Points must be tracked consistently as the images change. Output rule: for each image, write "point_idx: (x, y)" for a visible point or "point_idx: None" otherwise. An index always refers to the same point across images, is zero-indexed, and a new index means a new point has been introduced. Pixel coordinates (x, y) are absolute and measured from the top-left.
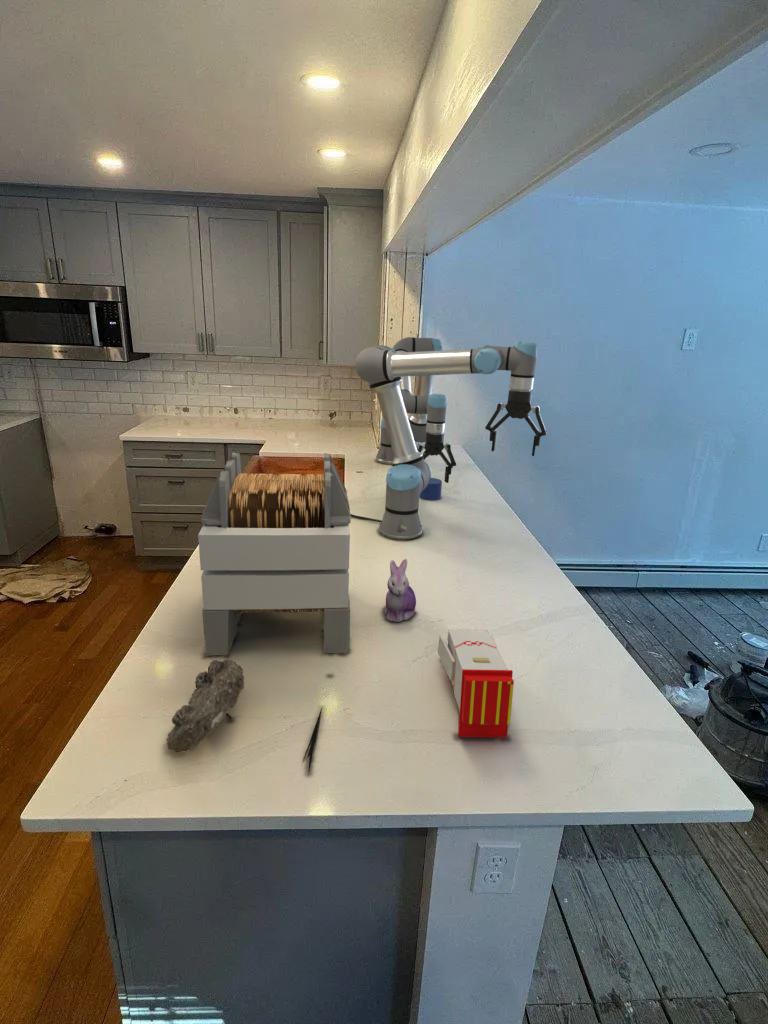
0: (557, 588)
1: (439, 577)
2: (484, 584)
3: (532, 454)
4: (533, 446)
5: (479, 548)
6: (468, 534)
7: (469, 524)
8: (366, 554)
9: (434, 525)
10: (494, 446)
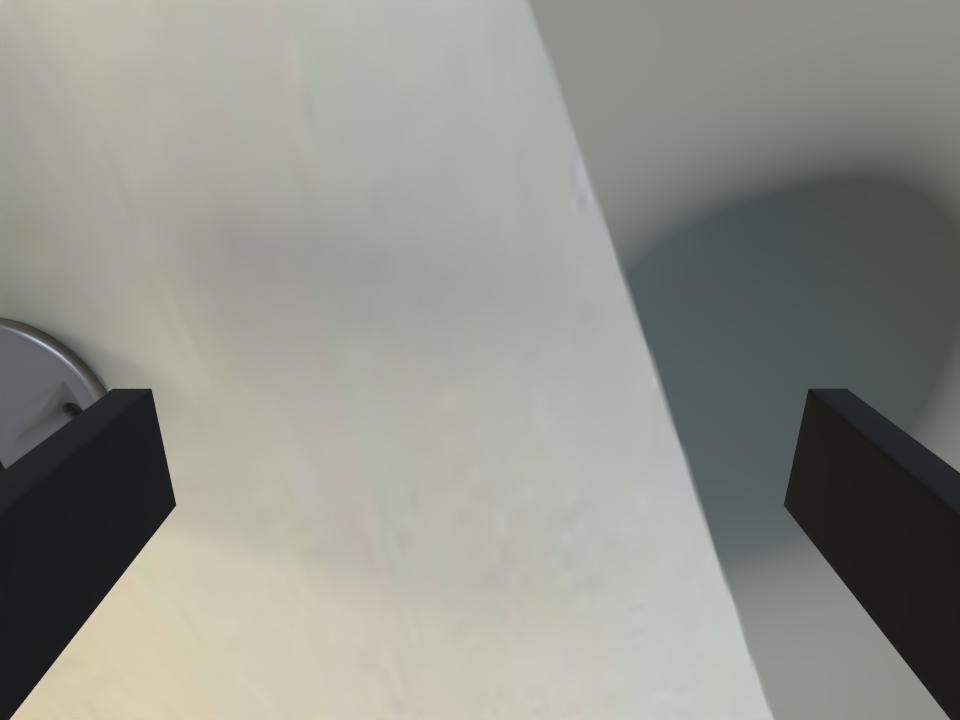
0: (714, 650)
1: (334, 705)
2: (480, 699)
3: (804, 521)
4: (885, 622)
5: (404, 447)
6: (313, 305)
7: (274, 150)
8: None
9: (108, 253)
10: (126, 489)
